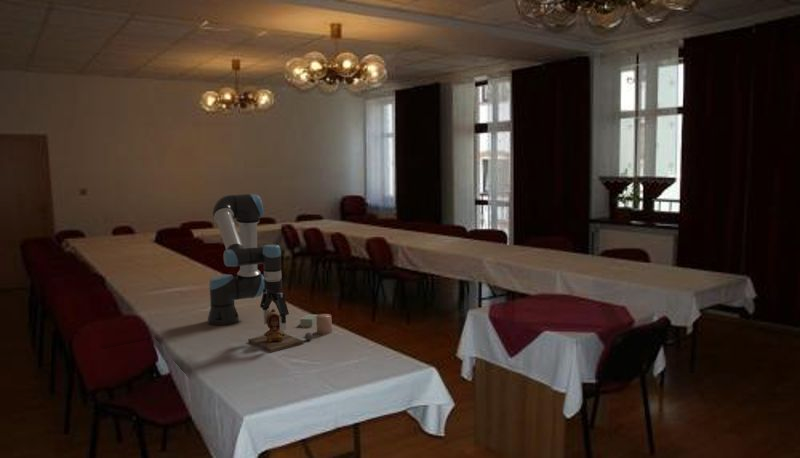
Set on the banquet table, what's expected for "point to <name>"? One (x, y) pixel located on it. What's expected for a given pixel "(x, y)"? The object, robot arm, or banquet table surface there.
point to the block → (308, 320)
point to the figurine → (274, 328)
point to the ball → (308, 336)
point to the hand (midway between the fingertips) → (274, 326)
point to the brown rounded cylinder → (324, 324)
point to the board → (275, 343)
